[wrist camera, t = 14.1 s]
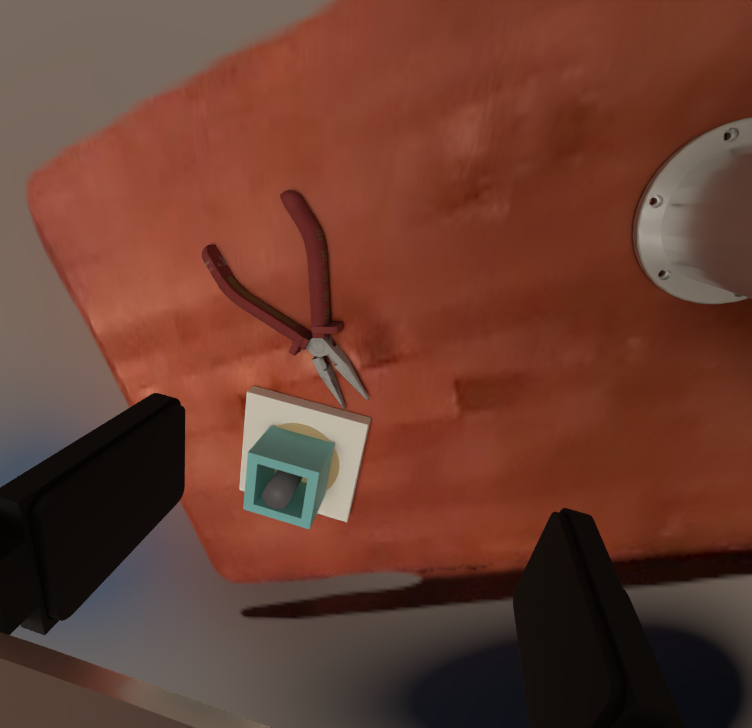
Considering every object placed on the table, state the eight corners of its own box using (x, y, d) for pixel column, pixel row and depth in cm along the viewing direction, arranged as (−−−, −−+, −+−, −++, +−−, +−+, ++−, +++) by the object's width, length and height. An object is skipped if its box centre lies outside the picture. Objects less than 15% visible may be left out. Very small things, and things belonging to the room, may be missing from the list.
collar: (334, 443, 42) (319, 472, 37) (324, 495, 44) (309, 529, 40) (270, 425, 42) (247, 452, 38) (265, 478, 45) (243, 509, 41)
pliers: (315, 419, 44) (306, 431, 41) (206, 250, 39) (190, 252, 37) (408, 377, 40) (405, 388, 38) (300, 185, 35) (289, 183, 33)
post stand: (371, 417, 42) (353, 460, 35) (350, 512, 47) (330, 567, 40) (253, 385, 43) (213, 421, 36) (245, 481, 48) (209, 529, 41)
